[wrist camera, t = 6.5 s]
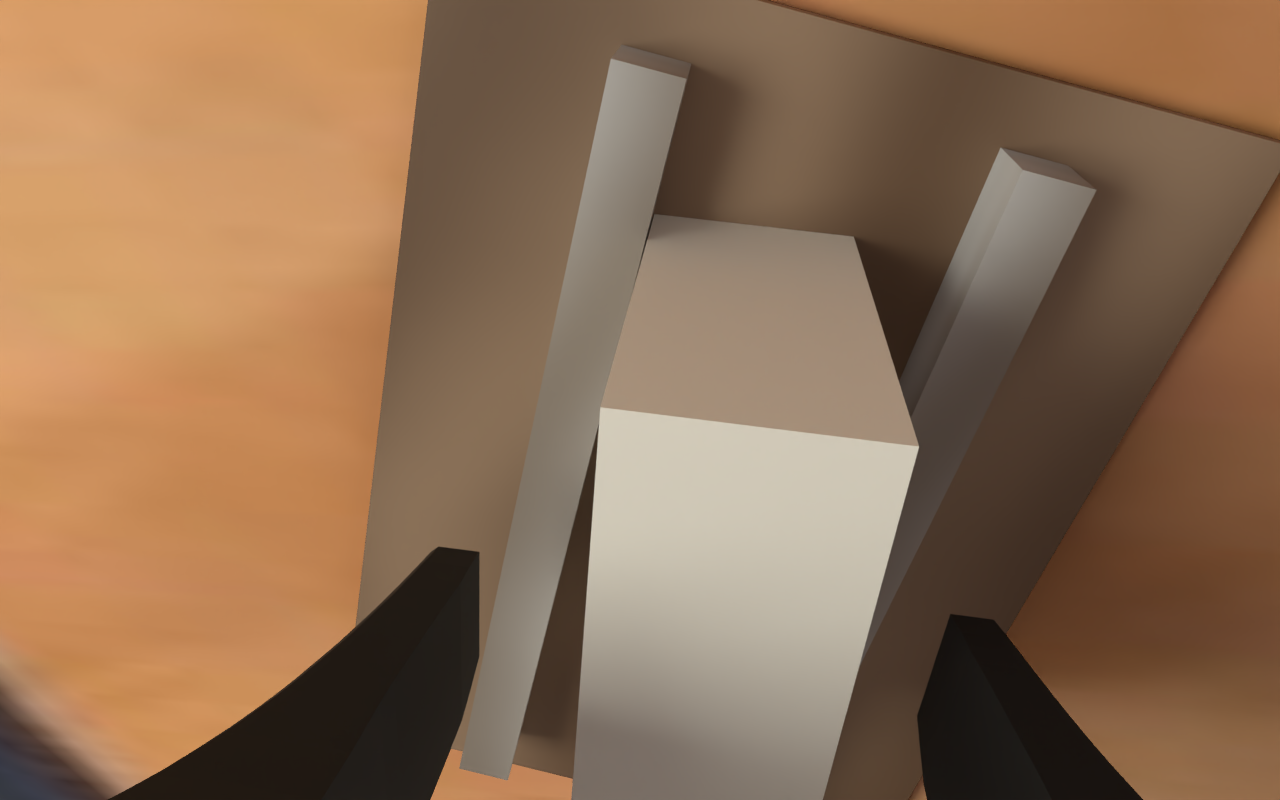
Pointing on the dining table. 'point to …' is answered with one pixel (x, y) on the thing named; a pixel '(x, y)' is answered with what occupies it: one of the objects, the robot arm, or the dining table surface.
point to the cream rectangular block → (737, 516)
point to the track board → (789, 199)
